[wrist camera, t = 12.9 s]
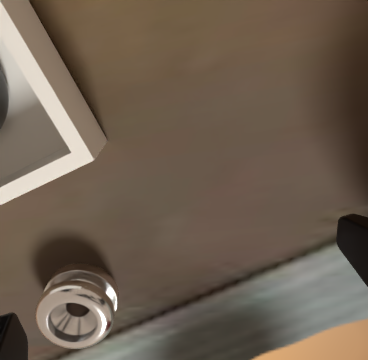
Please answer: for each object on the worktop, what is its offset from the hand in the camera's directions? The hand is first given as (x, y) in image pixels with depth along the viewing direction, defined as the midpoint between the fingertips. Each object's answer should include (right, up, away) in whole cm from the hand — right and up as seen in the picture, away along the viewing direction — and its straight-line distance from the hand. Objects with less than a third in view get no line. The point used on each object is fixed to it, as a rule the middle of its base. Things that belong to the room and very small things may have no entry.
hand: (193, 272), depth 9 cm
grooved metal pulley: (-7, -6, +15) cm, 18 cm away
